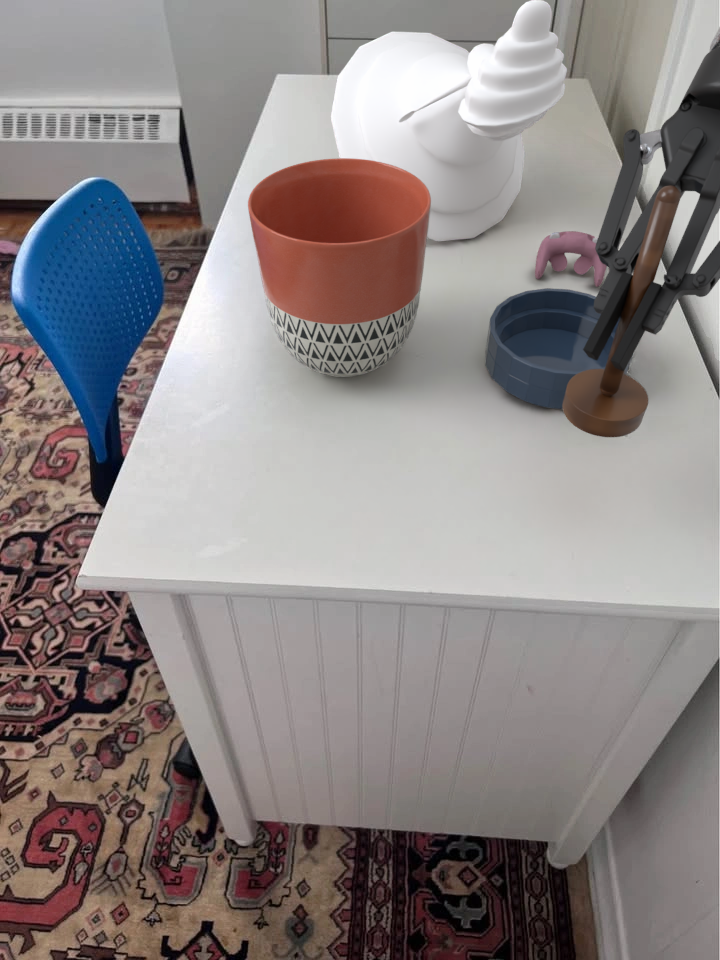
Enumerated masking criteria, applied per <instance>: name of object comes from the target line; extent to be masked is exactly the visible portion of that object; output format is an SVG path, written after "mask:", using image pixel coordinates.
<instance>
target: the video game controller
mask: <svg viewBox="0 0 720 960" xmlns="http://www.w3.org/2000/svg"><path fill="white" fill-rule="evenodd" d="M597 240H598V236H597V237H596V236H595V235H592V234H589V233H586V232H582V231H575V230H571V231H570V230H566V231H560V232H559V231H558V232H553V233H551V234H549V235H547V236H545V237H544V238H543V240H542V241H541V243H540V245H539V247H538V250H537V253H536V260H535V269H534V277H535V278H536V279H537V280H540V279H541V278H542V277H543V275H544V273H545V271H546V269H547V265H548V263H549V262H550V264H551V265H550V266H551V268H552V269H553V270H554V271H555V272H563V271H565V270H566V268H567V267H568V258H567V257H566V255H565V254H575V255H580V256H579V257H578V258H577V259H576V260H575V261H574V263H573V270H574V272H575V273H576V274H577V275H580V276H581V275H585V274H586V273H588V271H590V269H591V268H593V271H594V272H593V283H594V286H595V287H596V288H598V287H601V286H602V284H603V282H604V280H605V279H604V278H605V275H606V271H607V268H608V267H607V266H606V265H605V264H602V262H601V261H600V259H599V257H598V254H597V252H596V249H595V246H596V243H597Z"/></svg>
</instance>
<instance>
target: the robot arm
mask: <svg viewBox="0 0 720 960" xmlns="http://www.w3.org/2000/svg"><path fill="white" fill-rule="evenodd" d="M622 140H623V162H622V164H621V168H620V169H619V170H620V171H619V173H618V177H617V179H616V182H615V187H614V188H613V192H612V195H611V198H610V200H609V204H608V207H607V210H606V213H605V216H604V218H603V222H602V225H601V228H600V231H599V234H598V236H597V238H598V240H597V243H596V246H595V249H596V252H597V254H598V257H599V259H600V261H601V262H602V264H605V265H606V266H607V267H606V268H608V269H609V270H608V273H607V275H606V276H605V279H604V280H603V282H602V284H601V286H600V289H599V291H598V292H597V295H596V296H595V297H596V298H595V300H594V309H595V311H596V313H599V314H601V316H600V317H599V319H598V321H597V323H596V325H595V327H594V329H593V331H592V333H591V335H590V337H589V339H588V341H587V343H586V345H585V347H584V348H583V350H584V352H585V353H586V354H587V356H588V357H590V358H592V359H594V360H598V358H599V356H600V354H601V352H602V350H603V348H604V347H605V345H606V343H607V341H608V339H609V337H610V335H611V333H612V331H613V329H614V327H615V325H616V324H617V322H618V320H619V318H620V316H621V313H622V309H623V306H624V303H625V299H626V296H627V293H628V289H629V286H630V282H631V279H632V276H633V272H634V269H635V266H636V262H637V259H638V256H639V252H640V249H641V245H642V242H643V239H644V235H645V232H646V229H647V225H648V222H649V219H650V215H651V212H652V209H653V205H654V202H655V198H656V195H657V193H658V192H659V190H660V189H662V188H663V187H665V186H675V187H676V188H677V189H678V190H679V191H680V195H681V198H682V197H683V196H684V194H685V192H696V193H698V194H699V196H698V199H697V202H696V204H695V207H694V209H693V212H692V214H691V216H690V218H689V221H688V223H687V225H686V227H685V230H684V232H683V234H682V237H681V238H680V242H679V243H678V246H677V249H676V251H675V253H674V255H673V258H672V260H671V262H670V265H669V267H668V269H667V272H666V274H663V283H662V284H660V283H657V282H655V281H654V282H651V284H650V286H649V288H648V290H647V291H646V293H645V295H644V297H643V299H642V301H641V303H640V305H639V307H638V309H637V311H636V312H635V314H634V316H633V318H632V320H631V322H630V324H629V326H628V328H627V330H626V332H625V334H624V335H623V337H622V339H621V341H620V343H619V345H618V347H617V349H616V351H615V353H614V355H613V356H612V358H611V360H610V361H611V362H612V364H613V365H614V367H615V368H617V369H619V370H622V371H624V370H625V368H626V366H627V364H628V363H629V361H630V359H631V357H632V358H633V356H634V353H635V351H636V349H637V347H638V346H639V344H640V341H641V340H642V338H643V336H644V334H645V332H646V333H647V332H648V333H650V334H652V335H654V336H656V335H657V334H658V333H659V332H660V331H661V330H662V329H663V327H664V326H665V323H666V321H667V319H668V318H669V316H670V313H671V312H672V310H673V309H674V306H675V304H676V303H677V301H678V300H679V299H680V298H682V297H684V296H696V297H699V298H704V297H706V296H707V295H708V294H710V293H711V291H712V290H713V288H714V287H715V286H716V285H717V283H718V282H719V281H720V240H719V241H718V242H717V244H716V245H715V246H714V248H713V249H712V250H711V252H710V253H709V254H708V255H707V257H706V258H705V260H704V261H703V262H702V264H701V265H700V266H699V268H698V269H697V271H695V273H692V271H693V268H694V266H695V264H696V262H697V260H698V258H699V255H700V253H701V250H702V248H703V245H704V244H705V241H706V239H707V237H708V235H709V232H710V229H711V228H712V226H713V225H712V224H713V223H714V221H715V218H716V216H717V215H718V214H719V212H720V26H719V27H718V29H717V31H716V33H715V35H714V37H713V39H712V41H711V43H710V46H709V52H707V53H706V55H704V57H703V59H702V61H701V63H700V65H699V67H698V69H697V70H696V73H695V75H694V76H693V78H692V80H691V82H690V84H689V86H688V88H687V90H686V91H685V93H684V96H683V98H682V100H681V102H680V104H679V106H678V108H677V110H676V111H675V112H674V113H673V115H671V116H670V117H668V119H666V120H665V122H663V124H662V125H661V128H660V129H656V130H652V131H647V132H644V133H640V132H639V130H638V129H634V128H632V129H629V130H627V131H626V132H625V133H624V135H623V139H622ZM659 149H661V151H662V157H663V163H664V167H665V170H664V172H663V174H661V177H660V180H659V183H658V185H657V187H656V189H655V190H654V192H653V193H652V196H651V197H650V199H649V200H648V202H647V204H646V205H645V207H644V208H643V210H642V211H641V214H640V215H639V217H638V218H637V220H636V222H635V223H634V225H633V227H632V228H631V229H630V231H629V233H628V235H627V236H626V238H625V239H624V241H623V243H622V244H621V242H622V238H623V236H624V233H625V230H626V227H627V224H628V220H629V218H630V215H631V211H632V209H633V206H634V203H635V200H636V197H637V194H638V191H639V188H640V185H641V182H642V179H643V176H644V175H643V174H644V165H645V166H646V165H648V164H649V163H650V162H651V161H652V160H653V158H654V154H655V152H656V151H657V150H659ZM681 198H680V200H681ZM620 245H621V247H620ZM619 247H620V248H619ZM632 355H633V356H632ZM631 360H632V359H631Z"/></svg>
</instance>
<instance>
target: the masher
mask: <svg viewBox="0 0 720 960" xmlns="http://www.w3.org/2000/svg"><path fill="white" fill-rule="evenodd" d="M680 198H682V197H681V195H680V191H679V190H678V189H677V188H676V187H675V186H665V187H663V188H662V189H660V190H659V192H658V193H657V195H656V198H655V202H654V205H653V209H652V212H651V215H650V219H649V222H648V225H647V229H646V232H645V235H644V239H643V242H642V245H641V249H640V252H639V256H638V259H637V262H636V266H635V269H634V272H633V273H632V275H633V276H632V279H631V282H630V286H629V289H628V293H627V296H626V299H625V303H624V306H623V309H622V313H621V316H620V319H619V323H618V326H617V329H616V333H615V336H614V340H613V343H612V346H611V350H610V353H609V356H608V360H607V363H606V366H605V369H591V370H586V371H583V372H580V373H578V374H576V375H575V376H573V377H572V378H571V379H570V381H569V382H568V384H567V388H566V392H565V396H564V399H563V404H562V407H563V409H562V412H563V414H564V416H565V418H566V419H567V420H568V422H569V423H570V424H572V426H574V427H575V428H577V429H578V430H579V431H582V432H584V433H586V434H589V435H591V436H596V437H602V438H620V437H623V436H628V435H630V434H632V433H634V432H635V431H636V430H638V429H639V428H640V426H641V424H642V422H643V419H644V417H645V414H646V411H647V410H648V409H647V408H648V405H649V395H648V393H647V391H646V389H645V388H644V386H643V385H642V384H641V383H640V382H639V381H637V379H635V378H633V377H632V376H629V375H628V374H626V375H625V374H624V371H625V370H624V371H622V370H619V369H617V368H615V367H614V365H613V364H612V362H611V361H610V360H611V358H612V356H613V355H614V353H615V351H616V349H617V347H618V345H619V343H620V341H621V339H622V337H623V335H624V334H625V332H626V330H627V328H628V326H629V324H630V322H631V320H632V318H633V316H634V314H635V312H636V311H637V309H638V307H639V305H640V303H641V301H642V299H643V297H644V295H645V293H646V291H647V290H648V288H649V286H650V284H651V282H655V278H656V276H657V272H658V269H659V266H660V263H661V261H662V256H663V254H664V251H665V248H666V245H667V241H668V238H669V235H670V232H671V229H672V226H673V222H674V220H675V217H676V214H677V210H678V207H679V204H680V201H681V199H680Z"/></svg>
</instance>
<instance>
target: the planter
mask: <svg viewBox="0 0 720 960" xmlns="http://www.w3.org/2000/svg"><path fill="white" fill-rule="evenodd" d="M430 208H431V196H430V193H429V190H428V189H427V187H426V186H425V184H424V183H423V182H422V181H421V180H420V179H419V178H417V177H416V176H414V175H413V174H411V173H409V172H408V171H406V170H403V169H401V168H398V167H396V166H393V165H389V164H386V163H382V162H377V161H371V160H364V159H350V158H340V157H339V158H337V157H336V158H324V159H323V158H322V159H317V160H316V159H315V160H310V161H304V162H301V163H296V164H293V165H290V166H286V167H284V168H282V169H280V170H277V171H275V172H273V173H271V174H269V175H268V176H266V177H265V178H263V179H262V180H260V181H259V182H258V183H257V184H256V185H255V187H253V189H252V190H251V192H250V194H249V197H248V200H247V210H248V215H249V222H250V227H251V233H252V237H253V243H254V247H255V253H256V258H257V262H258V267H259V268H258V269H259V274H260V279H261V284H262V289H263V294H264V298H265V305H266V308H267V313H268V317H269V321H270V322H271V325H272V328H273V330H274V332H275V334H276V336H277V338H278V340H279V341H280V343H281V345H282V346H283V348H284V349H285V350H286V352H288V353H289V355H291V357H293V358H294V359H295V360H296V361H297V362H299V363H300V364H302V365H303V366H305V367H307V368H308V369H310V370H312V371H315V372H317V373H320V374H323V375H326V376H331V377H339V378H343V377H345V378H346V377H347V378H348V377H356V376H360V375H364V374H367V373H370V372H372V371H375V370H376V369H378V368H380V367H383V365H385V364H386V363H388V362H389V361H390V360H392V359H393V357H395V356H396V355H397V354H398V353H399V351H401V349H402V348H403V347H404V345H405V344H406V342H407V340H408V339H409V336H410V334H411V331H412V329H413V328H414V324H415V321H416V318H417V315H418V310H419V306H420V299H421V298H420V297H421V292H422V291H421V290H422V284H423V283H422V282H423V276H424V275H423V274H424V267H425V259H426V250H427V249H426V248H427V241H428V238H427V235H428V227H429V218H430Z"/></svg>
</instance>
